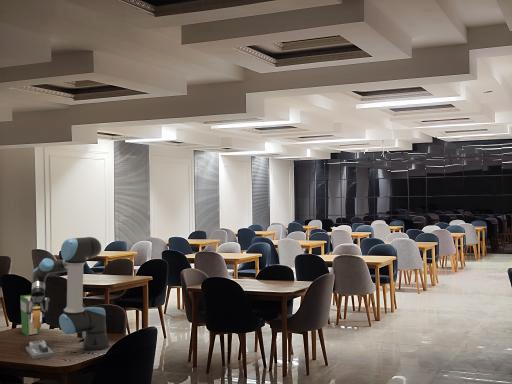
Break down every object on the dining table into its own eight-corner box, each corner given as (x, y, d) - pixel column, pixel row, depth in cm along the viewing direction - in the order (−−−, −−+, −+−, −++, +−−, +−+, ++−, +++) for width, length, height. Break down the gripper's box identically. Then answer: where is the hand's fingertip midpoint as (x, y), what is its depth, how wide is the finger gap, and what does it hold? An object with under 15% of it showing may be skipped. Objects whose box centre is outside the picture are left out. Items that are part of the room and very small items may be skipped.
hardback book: (39, 334, 428) (37, 297, 429) (27, 336, 425) (25, 298, 425) (33, 330, 444) (31, 294, 444) (21, 331, 440) (20, 295, 440)
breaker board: (25, 350, 383) (25, 340, 384) (45, 347, 389) (45, 337, 389) (33, 359, 360) (32, 348, 361) (54, 356, 366) (53, 345, 366)
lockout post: (42, 327, 383) (42, 306, 383) (35, 328, 380) (34, 307, 380) (38, 326, 386) (38, 305, 386) (31, 327, 383) (30, 307, 383)
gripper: (54, 293, 400) (52, 325, 383) (23, 295, 396) (21, 328, 380) (52, 285, 395) (51, 318, 378) (22, 287, 391) (19, 320, 375)
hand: (36, 323), depth 379 cm, fingers closed on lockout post, 4 cm apart
